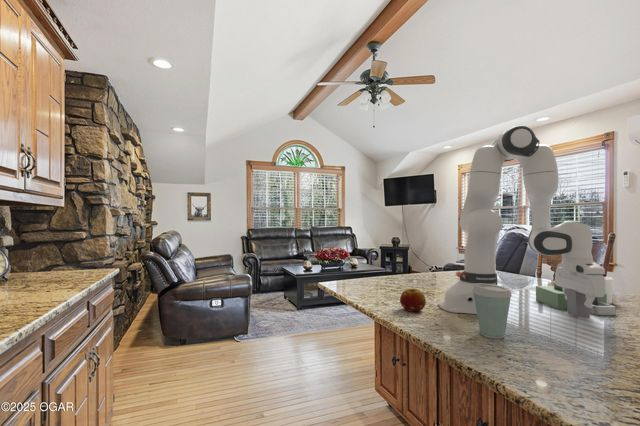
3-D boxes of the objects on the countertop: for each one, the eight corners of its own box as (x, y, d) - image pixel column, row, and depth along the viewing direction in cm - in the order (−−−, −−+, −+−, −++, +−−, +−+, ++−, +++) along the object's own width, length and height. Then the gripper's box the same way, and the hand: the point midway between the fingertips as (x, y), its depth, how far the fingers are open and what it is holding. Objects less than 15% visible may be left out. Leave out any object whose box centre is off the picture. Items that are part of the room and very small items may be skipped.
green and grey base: (571, 314, 117) (570, 292, 118) (535, 299, 139) (535, 281, 139) (623, 315, 116) (623, 292, 116) (579, 300, 138) (579, 281, 138)
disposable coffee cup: (505, 330, 102) (504, 282, 102) (519, 343, 91) (518, 290, 91) (469, 328, 104) (468, 281, 104) (478, 340, 93) (477, 288, 93)
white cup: (603, 299, 139) (603, 276, 139) (619, 304, 131) (618, 279, 131) (584, 299, 139) (583, 276, 140) (598, 304, 132) (597, 279, 132)
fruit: (398, 312, 122) (398, 291, 122) (401, 306, 130) (401, 286, 131) (425, 314, 118) (424, 293, 119) (426, 308, 127) (426, 288, 127)
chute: (576, 317, 115) (575, 291, 115) (567, 313, 119) (566, 288, 119) (595, 317, 114) (595, 291, 114) (586, 313, 119) (585, 289, 119)
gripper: (549, 261, 128) (550, 296, 127) (589, 269, 107) (590, 311, 107) (566, 261, 127) (567, 296, 127) (609, 269, 107) (610, 311, 106)
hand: (578, 303), depth 117 cm, fingers open, 8 cm apart
